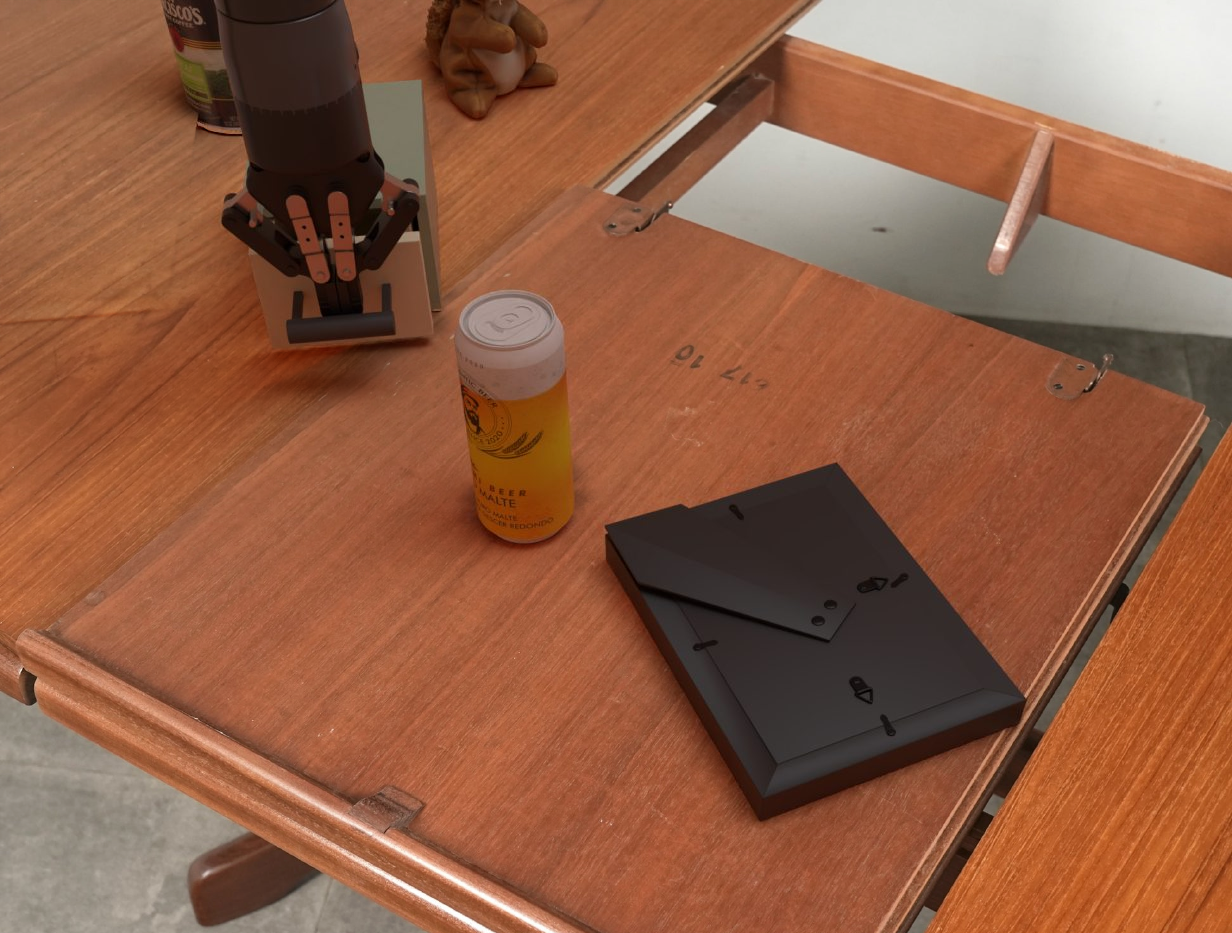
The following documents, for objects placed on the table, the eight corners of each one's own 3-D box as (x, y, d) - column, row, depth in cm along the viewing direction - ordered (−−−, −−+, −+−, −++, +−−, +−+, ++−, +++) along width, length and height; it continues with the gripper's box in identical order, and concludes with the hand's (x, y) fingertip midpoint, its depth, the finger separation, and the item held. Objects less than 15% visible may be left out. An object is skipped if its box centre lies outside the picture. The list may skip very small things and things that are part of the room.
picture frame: (605, 558, 84) (760, 821, 71) (604, 525, 81) (763, 790, 68) (833, 486, 87) (1019, 723, 74) (837, 452, 85) (1030, 691, 72)
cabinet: (442, 311, 101) (425, 194, 94) (269, 326, 100) (240, 209, 93) (436, 191, 112) (421, 78, 105) (281, 204, 111) (255, 91, 104)
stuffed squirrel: (478, 126, 119) (462, -29, 109) (396, 66, 127) (374, -83, 117) (572, 90, 123) (565, -62, 113) (487, 34, 131) (473, -113, 121)
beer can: (459, 512, 87) (430, 315, 75) (535, 469, 89) (517, 272, 78) (517, 564, 83) (495, 366, 72) (594, 518, 86) (585, 320, 75)
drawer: (435, 379, 94) (421, 283, 88) (268, 394, 93) (242, 298, 88) (429, 217, 108) (416, 124, 102) (283, 229, 107) (261, 136, 101)
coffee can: (228, 149, 117) (186, -18, 107) (168, 106, 123) (122, -57, 112) (329, 107, 122) (298, -57, 111) (267, 67, 127) (232, -93, 117)
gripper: (173, 114, 77) (243, 362, 90) (409, 95, 78) (444, 344, 91) (185, 53, 82) (250, 296, 95) (406, 35, 83) (441, 279, 96)
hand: (345, 319), depth 93 cm, fingers closed
